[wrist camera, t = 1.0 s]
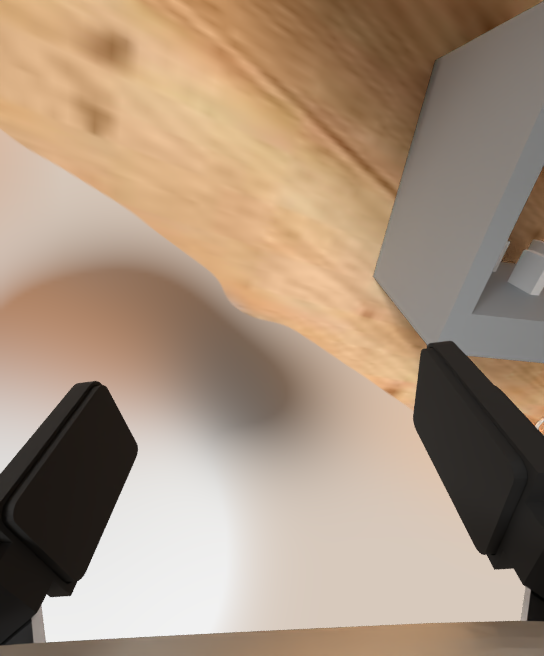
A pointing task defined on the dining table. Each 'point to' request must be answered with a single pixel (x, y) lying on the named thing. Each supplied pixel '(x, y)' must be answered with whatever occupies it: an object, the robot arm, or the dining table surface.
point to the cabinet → (473, 199)
